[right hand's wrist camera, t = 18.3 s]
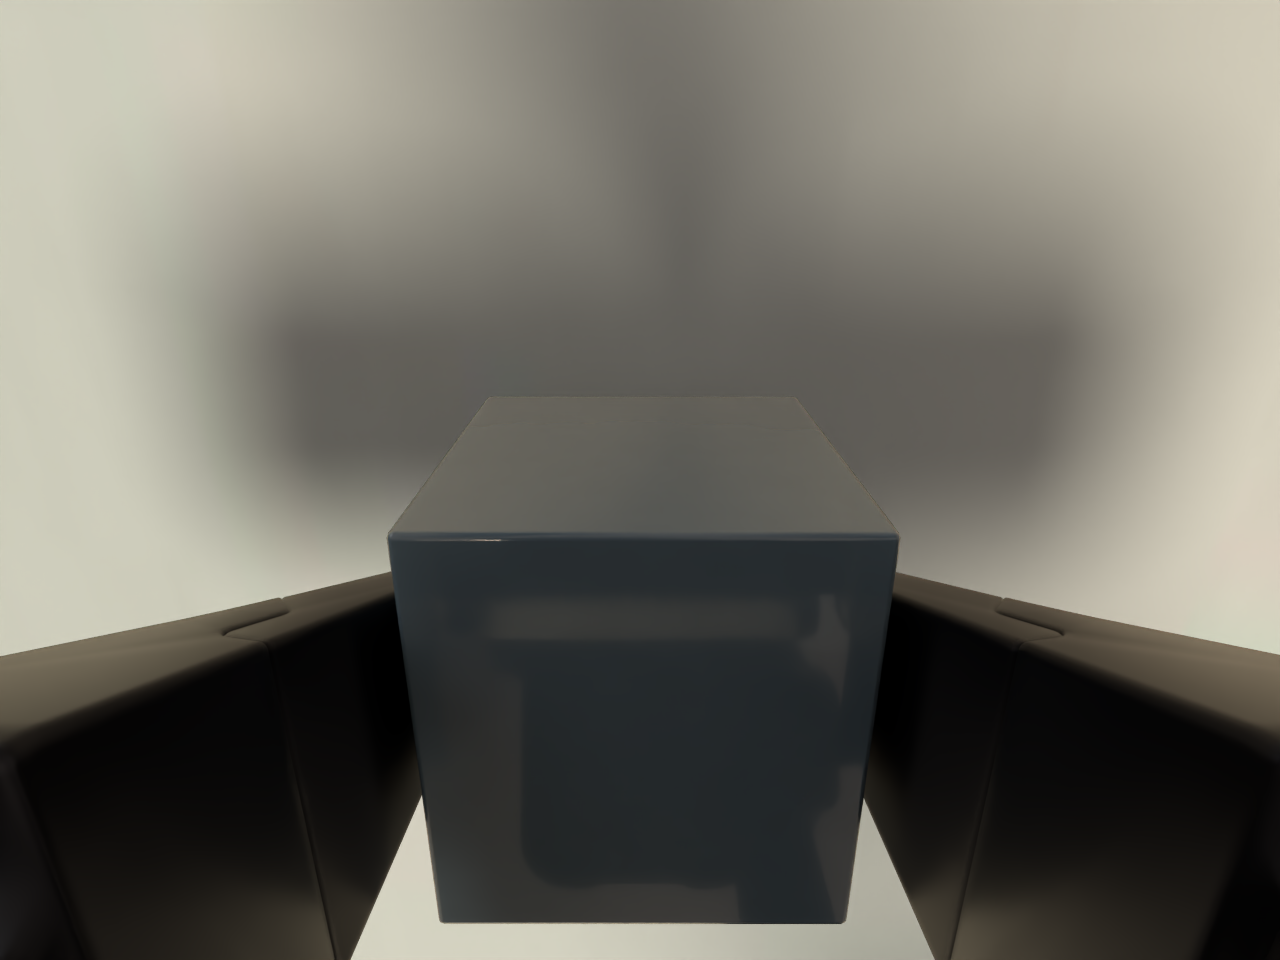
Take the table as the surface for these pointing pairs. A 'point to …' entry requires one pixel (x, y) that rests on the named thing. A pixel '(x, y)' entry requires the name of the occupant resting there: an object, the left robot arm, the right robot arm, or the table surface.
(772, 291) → the table surface
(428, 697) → the brick
